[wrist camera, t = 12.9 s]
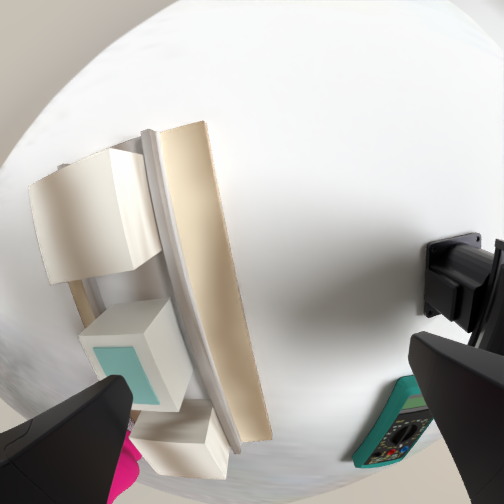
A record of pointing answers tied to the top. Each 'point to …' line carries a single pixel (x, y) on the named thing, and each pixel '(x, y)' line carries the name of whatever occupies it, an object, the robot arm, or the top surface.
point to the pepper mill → (125, 469)
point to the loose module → (142, 352)
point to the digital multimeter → (395, 427)
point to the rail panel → (160, 282)
